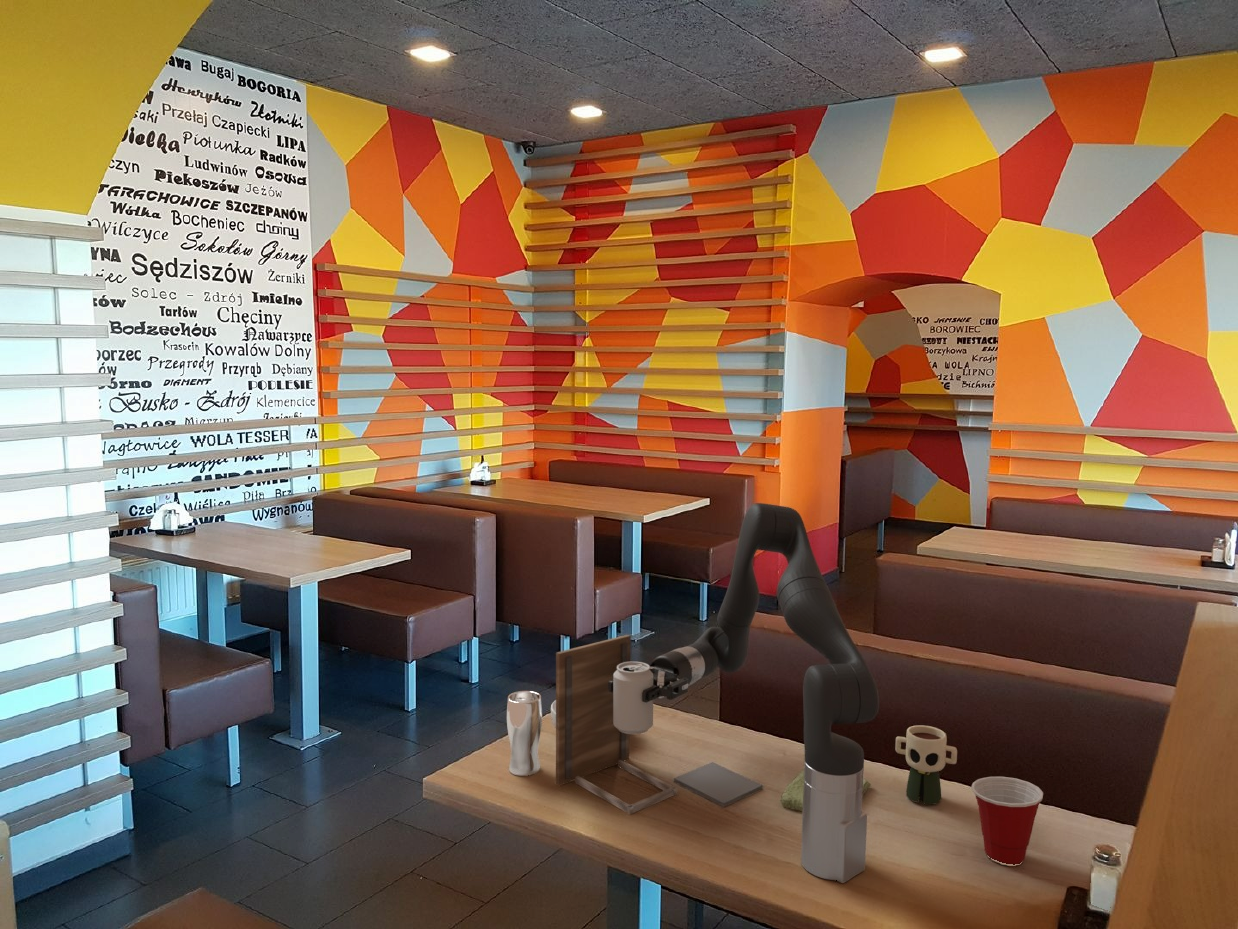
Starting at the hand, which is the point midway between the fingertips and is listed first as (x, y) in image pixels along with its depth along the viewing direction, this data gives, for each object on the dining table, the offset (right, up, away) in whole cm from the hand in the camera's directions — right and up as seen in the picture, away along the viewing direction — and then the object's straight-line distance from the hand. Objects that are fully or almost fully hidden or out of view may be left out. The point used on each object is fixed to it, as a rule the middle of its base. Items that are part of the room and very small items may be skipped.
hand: (626, 692), depth 164 cm
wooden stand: (0, -20, +5) cm, 20 cm away
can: (+1, -8, +2) cm, 8 cm away
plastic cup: (+62, -23, -17) cm, 68 cm away
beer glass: (-20, -19, +13) cm, 31 cm away
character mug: (+55, -21, +2) cm, 59 cm away
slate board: (+18, -20, +7) cm, 27 cm away
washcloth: (+37, -21, +3) cm, 43 cm away
